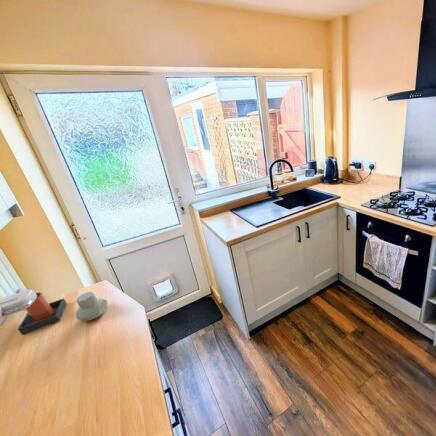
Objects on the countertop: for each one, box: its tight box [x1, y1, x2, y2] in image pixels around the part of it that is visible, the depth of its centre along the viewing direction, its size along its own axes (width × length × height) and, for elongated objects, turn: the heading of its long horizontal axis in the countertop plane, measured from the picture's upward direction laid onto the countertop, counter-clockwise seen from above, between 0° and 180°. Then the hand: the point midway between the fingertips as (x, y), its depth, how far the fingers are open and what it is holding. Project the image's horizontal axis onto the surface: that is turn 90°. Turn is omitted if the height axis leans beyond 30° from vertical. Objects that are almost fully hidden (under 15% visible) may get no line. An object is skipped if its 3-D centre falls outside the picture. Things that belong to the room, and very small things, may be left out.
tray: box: [17, 298, 68, 336], centre depth 105 cm, size 12×12×3 cm
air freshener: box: [75, 291, 108, 322], centre depth 102 cm, size 11×8×10 cm
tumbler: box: [25, 291, 55, 322], centre depth 103 cm, size 6×6×11 cm
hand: (4, 295), depth 87 cm, fingers open, 8 cm apart
